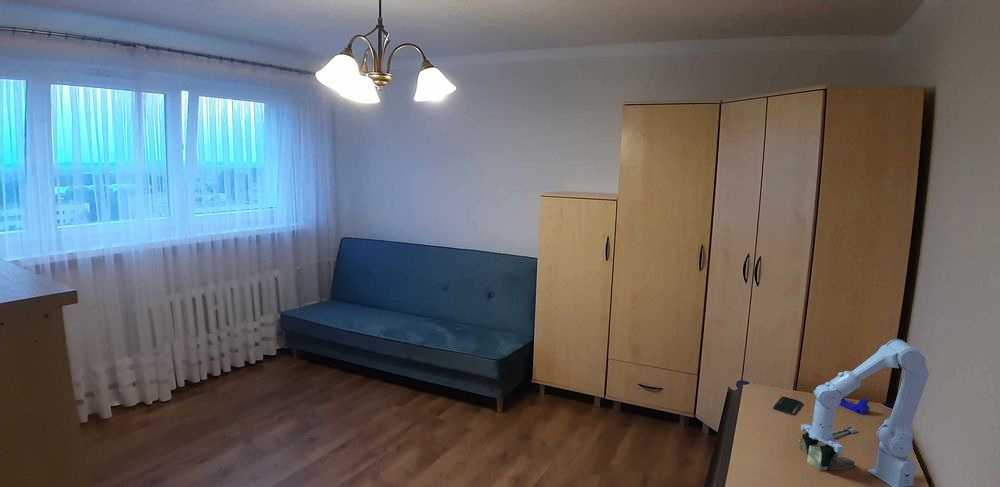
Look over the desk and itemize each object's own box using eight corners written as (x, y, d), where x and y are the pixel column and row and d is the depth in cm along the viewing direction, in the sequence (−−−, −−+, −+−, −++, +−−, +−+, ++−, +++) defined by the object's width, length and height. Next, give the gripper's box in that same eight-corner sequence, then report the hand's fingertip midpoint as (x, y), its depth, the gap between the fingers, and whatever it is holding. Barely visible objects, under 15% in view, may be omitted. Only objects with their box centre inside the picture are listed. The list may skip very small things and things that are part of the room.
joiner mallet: (841, 468, 171) (843, 451, 170) (819, 470, 169) (821, 453, 168) (828, 459, 176) (830, 442, 175) (807, 462, 174) (809, 445, 173)
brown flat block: (853, 467, 171) (854, 461, 171) (831, 470, 169) (831, 464, 169) (821, 446, 184) (822, 440, 184) (799, 448, 182) (800, 442, 182)
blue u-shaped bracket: (868, 413, 211) (870, 399, 210) (861, 415, 209) (863, 401, 208) (838, 400, 221) (840, 387, 220) (831, 402, 219) (833, 389, 218)
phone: (803, 402, 217) (793, 414, 206) (802, 404, 217) (793, 416, 206) (782, 395, 222) (772, 407, 211) (781, 398, 222) (771, 410, 211)
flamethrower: (785, 437, 189) (812, 452, 180) (786, 430, 189) (813, 445, 180) (834, 423, 202) (861, 436, 193) (835, 416, 202) (862, 430, 193)
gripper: (795, 412, 175) (790, 450, 177) (831, 434, 161) (825, 475, 164) (813, 410, 177) (807, 448, 179) (850, 432, 163) (844, 472, 165)
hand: (817, 461), depth 171 cm, fingers closed on joiner mallet, 5 cm apart
